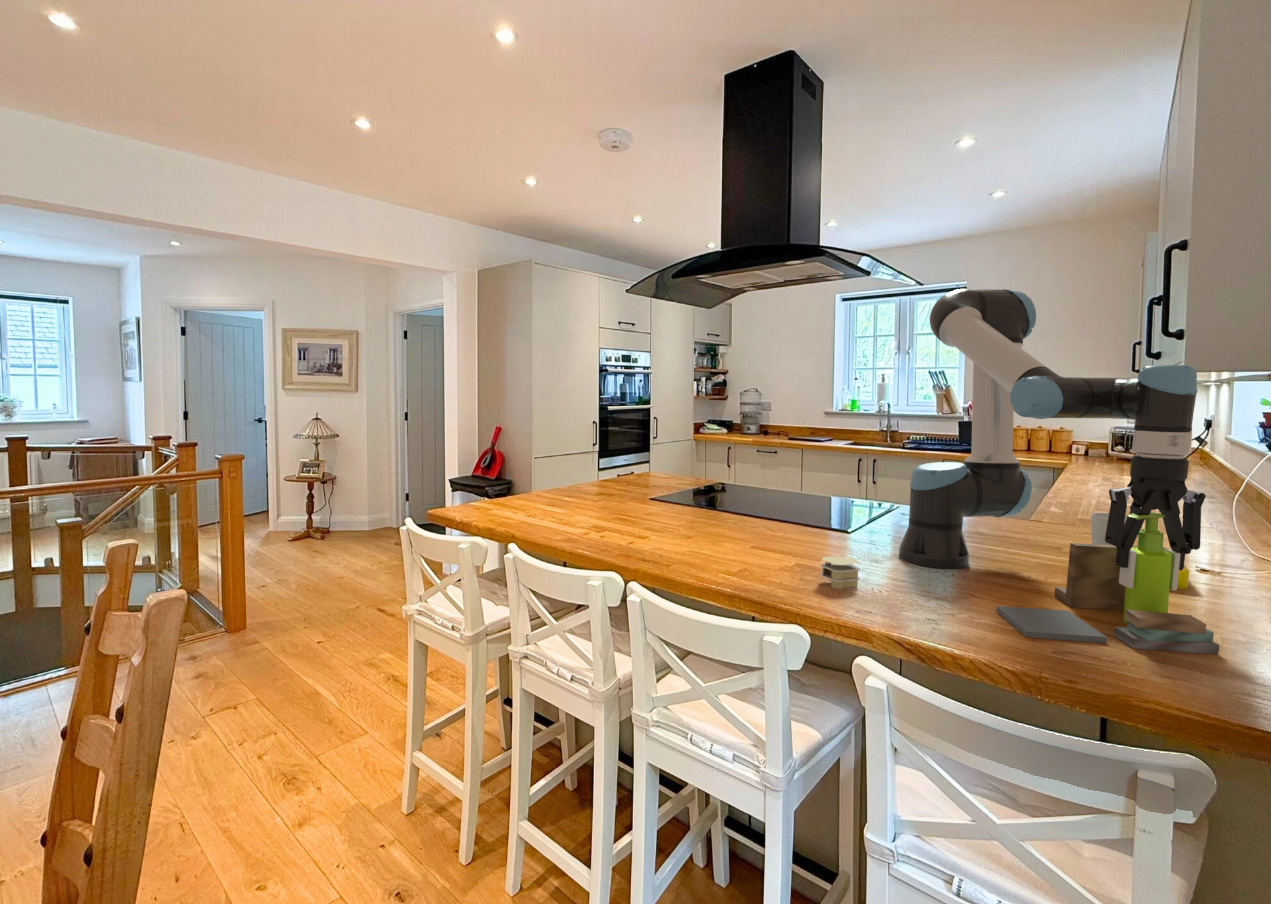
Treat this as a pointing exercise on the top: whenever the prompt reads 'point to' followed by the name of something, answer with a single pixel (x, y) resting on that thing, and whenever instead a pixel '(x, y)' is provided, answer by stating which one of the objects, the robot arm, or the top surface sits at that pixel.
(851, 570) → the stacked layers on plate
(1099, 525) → the cup
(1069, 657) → the top surface
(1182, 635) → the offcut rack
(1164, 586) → the soap dispenser
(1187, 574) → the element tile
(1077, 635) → the slate mat
